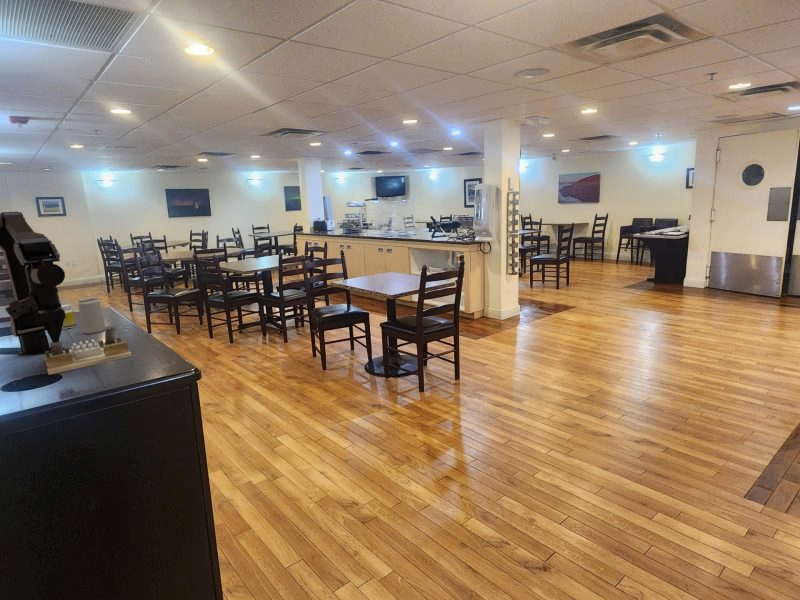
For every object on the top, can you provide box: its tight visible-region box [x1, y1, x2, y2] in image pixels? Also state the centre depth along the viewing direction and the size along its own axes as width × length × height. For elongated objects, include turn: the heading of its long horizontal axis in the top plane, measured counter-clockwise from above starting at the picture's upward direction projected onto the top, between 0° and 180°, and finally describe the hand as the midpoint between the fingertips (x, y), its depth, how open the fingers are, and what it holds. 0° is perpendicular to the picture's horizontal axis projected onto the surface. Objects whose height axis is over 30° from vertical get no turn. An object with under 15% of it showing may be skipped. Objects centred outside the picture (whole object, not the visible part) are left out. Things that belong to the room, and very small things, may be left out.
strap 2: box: [103, 324, 117, 345], centre depth 139 cm, size 12×3×1 cm
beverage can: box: [77, 296, 106, 335], centre depth 165 cm, size 6×6×12 cm
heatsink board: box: [43, 336, 132, 376], centre depth 135 cm, size 20×19×4 cm
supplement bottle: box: [61, 304, 77, 330], centre depth 175 cm, size 5×5×8 cm
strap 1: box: [49, 340, 64, 356], centre depth 131 cm, size 12×3×1 cm, turn 37°
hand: (55, 343), depth 127 cm, fingers closed
